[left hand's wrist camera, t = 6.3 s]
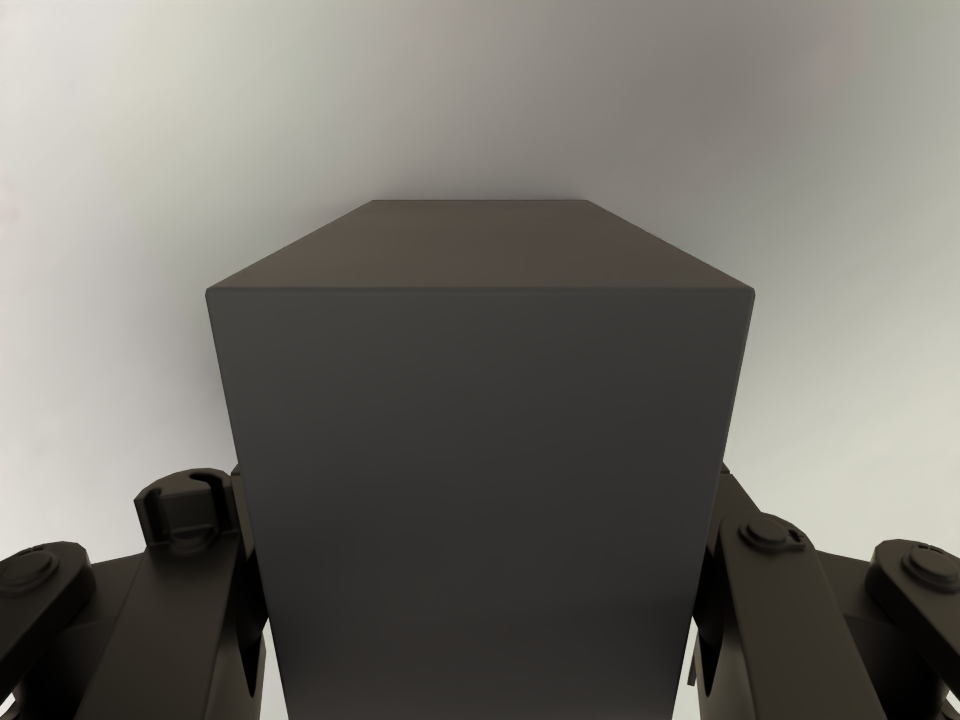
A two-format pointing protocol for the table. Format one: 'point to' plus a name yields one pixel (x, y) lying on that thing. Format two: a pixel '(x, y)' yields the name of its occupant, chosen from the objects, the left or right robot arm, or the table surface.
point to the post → (480, 456)
